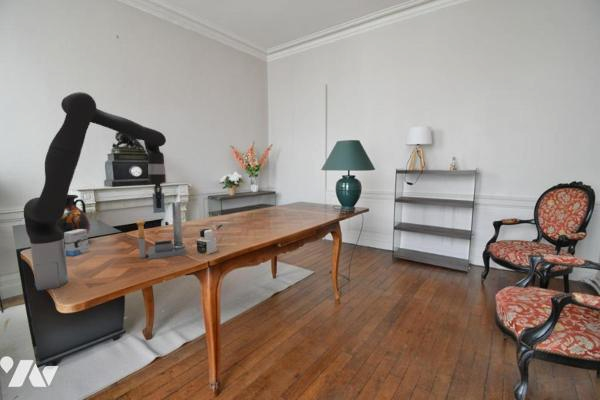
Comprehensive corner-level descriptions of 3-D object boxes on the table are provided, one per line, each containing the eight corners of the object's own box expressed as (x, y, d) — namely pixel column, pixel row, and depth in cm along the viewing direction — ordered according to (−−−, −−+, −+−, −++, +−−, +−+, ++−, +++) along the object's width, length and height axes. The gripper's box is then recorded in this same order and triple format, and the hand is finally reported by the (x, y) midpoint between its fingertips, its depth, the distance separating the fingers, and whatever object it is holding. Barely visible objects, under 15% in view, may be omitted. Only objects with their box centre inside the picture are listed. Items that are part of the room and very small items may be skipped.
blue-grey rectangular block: (165, 212, 138) (164, 194, 137) (153, 213, 136) (152, 194, 135) (164, 210, 143) (163, 193, 142) (153, 211, 140) (152, 193, 139)
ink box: (73, 256, 137) (71, 233, 136) (65, 255, 138) (63, 232, 137) (89, 251, 146) (87, 229, 144) (82, 250, 147) (79, 228, 145)
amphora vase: (49, 253, 141) (42, 199, 137) (37, 246, 153) (31, 196, 149) (98, 244, 158) (94, 195, 155) (84, 238, 170) (79, 193, 167)
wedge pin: (146, 243, 137) (144, 221, 135) (137, 244, 135) (136, 222, 134) (146, 242, 140) (144, 220, 138) (138, 242, 138) (136, 220, 137)
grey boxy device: (196, 252, 144) (195, 230, 142) (207, 249, 150) (206, 227, 148) (206, 255, 140) (205, 232, 139) (217, 251, 147) (216, 229, 145)
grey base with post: (186, 254, 141) (184, 203, 138) (139, 260, 132) (135, 206, 128) (183, 247, 154) (181, 200, 150) (140, 252, 144) (137, 202, 140)
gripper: (166, 173, 132) (167, 208, 135) (164, 172, 145) (166, 204, 147) (148, 173, 129) (150, 209, 131) (148, 172, 141) (150, 205, 144)
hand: (158, 207), depth 139 cm, fingers closed on blue-grey rectangular block, 5 cm apart
